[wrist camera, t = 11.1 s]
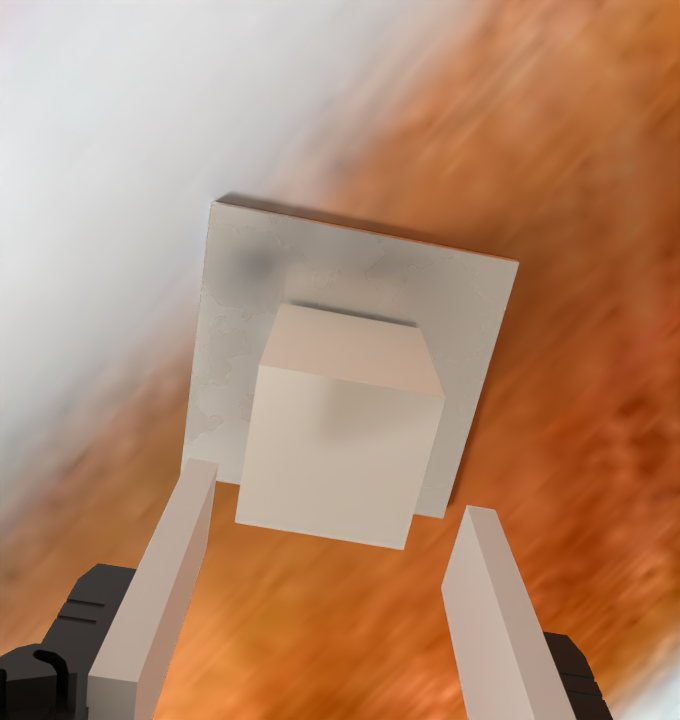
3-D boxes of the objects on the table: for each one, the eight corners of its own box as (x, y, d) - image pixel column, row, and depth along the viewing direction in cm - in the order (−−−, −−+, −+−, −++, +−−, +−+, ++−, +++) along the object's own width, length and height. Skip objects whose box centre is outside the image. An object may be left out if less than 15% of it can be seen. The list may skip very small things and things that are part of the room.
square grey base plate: (183, 467, 28) (134, 572, 22) (214, 201, 24) (165, 231, 17) (441, 511, 29) (469, 625, 22) (515, 259, 25) (576, 309, 18)
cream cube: (260, 428, 26) (234, 522, 20) (280, 302, 24) (259, 364, 18) (389, 450, 27) (403, 550, 20) (420, 328, 25) (445, 398, 18)
